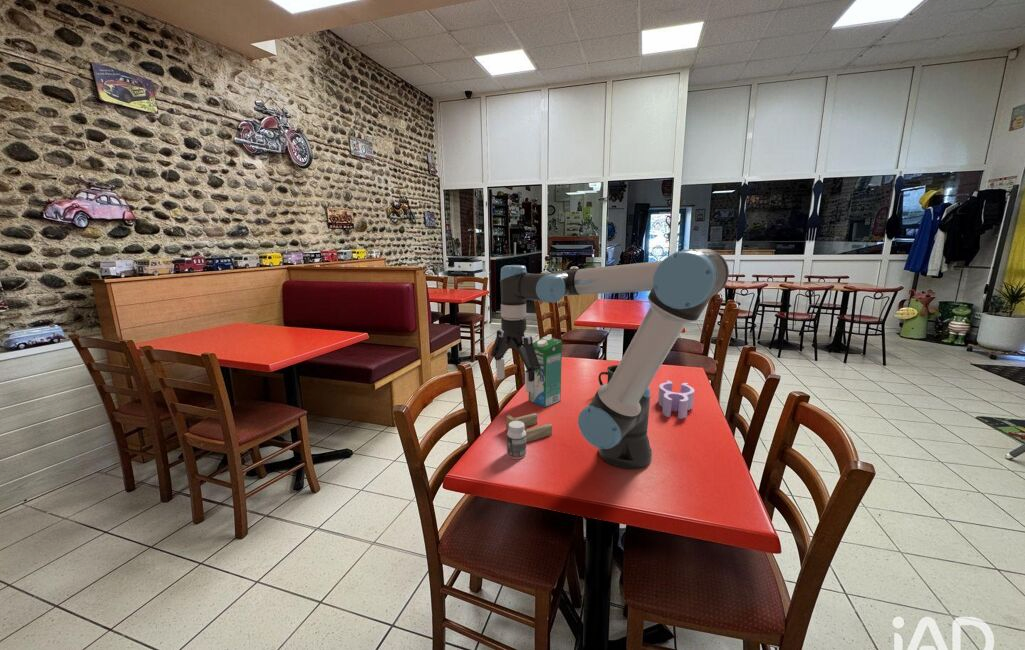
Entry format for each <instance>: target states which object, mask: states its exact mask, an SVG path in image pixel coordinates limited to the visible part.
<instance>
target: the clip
mask: <svg viewBox="0 0 1025 650" xmlns="http://www.w3.org/2000/svg"><path fill="white" fill-rule="evenodd" d="M680 385H681V386H680V392H674V391H673V382H672V381H671V380H666V382H662V383H660V384H659V387H658V396H657V403H658V405H659V406H660V407H661V406H662V407H661V408H662V411H661V413H662V415H663V416H665V417H667V418H671V417H672V416H671V415H672V412H677V411H678V412H677V419H678V420H684V419H686V418H687V417H688V411H687V410H689V411H691V410H692V409H693V408H692V407H694V401H695V400H694V399H695V388H694V387H692V386H690V385H689V383H688V382H683V383H681V384H680ZM691 408H692V409H691ZM690 409H691V410H690ZM683 418H684V419H683Z"/></svg>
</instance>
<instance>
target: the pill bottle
mask: <svg viewBox="0 0 1025 650" xmlns="http://www.w3.org/2000/svg"><path fill="white" fill-rule="evenodd" d="M524 428H526V427H525V426H524V423H523V422H521V421H512V422H510V423H509V430H508V431H507V433H506V442H507V443H506V454H507V456H508V457H509V458H510V459H512V460H513V459H514V460H520V459H521V460H522V459H523V458H525V457H526V455H527V442H526V431H525V430H524Z"/></svg>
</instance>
